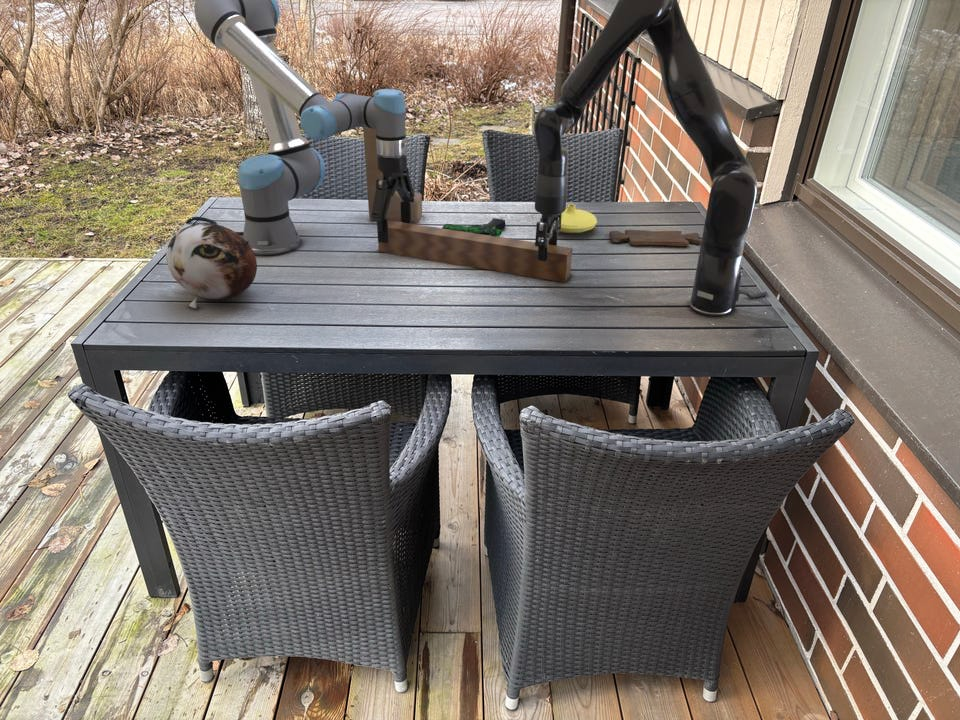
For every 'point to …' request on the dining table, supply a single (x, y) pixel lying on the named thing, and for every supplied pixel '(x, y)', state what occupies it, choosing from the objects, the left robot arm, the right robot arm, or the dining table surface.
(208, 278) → the cat face ball toy
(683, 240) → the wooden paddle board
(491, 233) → the handgun
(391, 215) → the decorative block
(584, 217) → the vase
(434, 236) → the bar
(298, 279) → the dining table surface
